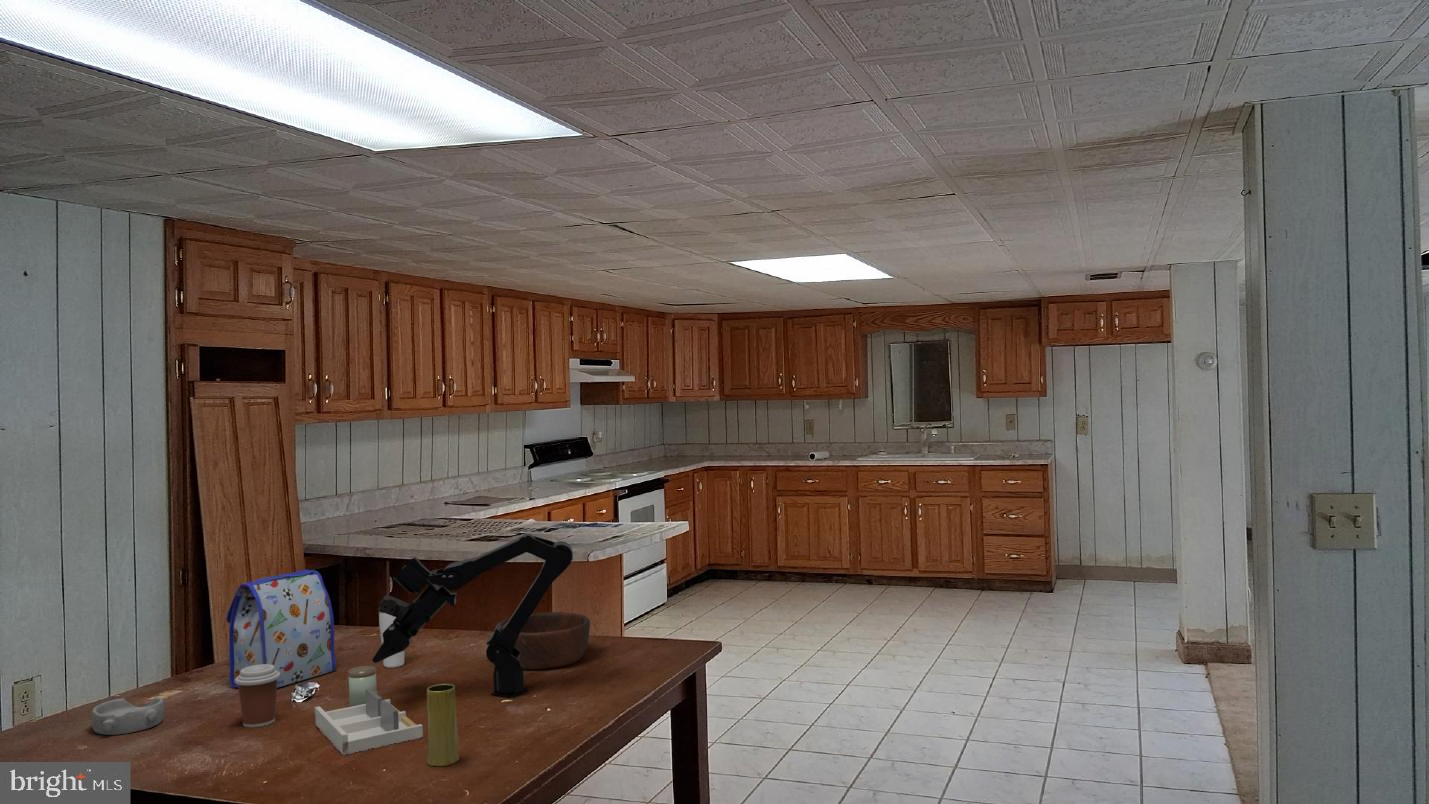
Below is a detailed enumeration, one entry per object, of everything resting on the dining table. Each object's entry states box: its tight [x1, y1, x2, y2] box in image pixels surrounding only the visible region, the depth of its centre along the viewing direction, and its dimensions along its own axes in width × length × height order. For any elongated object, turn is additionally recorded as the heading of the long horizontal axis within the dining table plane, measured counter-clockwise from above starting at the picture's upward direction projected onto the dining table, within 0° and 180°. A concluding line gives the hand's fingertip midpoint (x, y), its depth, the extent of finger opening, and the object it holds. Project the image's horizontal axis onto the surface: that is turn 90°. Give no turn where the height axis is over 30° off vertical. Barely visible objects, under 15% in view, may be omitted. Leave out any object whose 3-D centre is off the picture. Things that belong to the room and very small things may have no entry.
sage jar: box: [348, 665, 377, 707], centre depth 226 cm, size 6×6×8 cm
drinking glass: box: [378, 611, 406, 669], centre depth 258 cm, size 7×7×15 cm
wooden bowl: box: [494, 611, 591, 671], centre depth 260 cm, size 25×25×10 cm
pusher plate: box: [366, 689, 383, 718], centre depth 213 cm, size 1×9×5 cm, turn 36°
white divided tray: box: [314, 698, 424, 756], centre depth 207 cm, size 16×23×6 cm
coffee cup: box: [235, 664, 280, 728], centre depth 215 cm, size 9×9×12 cm
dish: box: [90, 696, 165, 736], centre depth 215 cm, size 14×14×5 cm
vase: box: [426, 683, 460, 767], centre depth 188 cm, size 6×6×14 cm
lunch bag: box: [225, 569, 337, 689], centre depth 249 cm, size 23×17×27 cm
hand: (377, 656), depth 227 cm, fingers open, 9 cm apart
